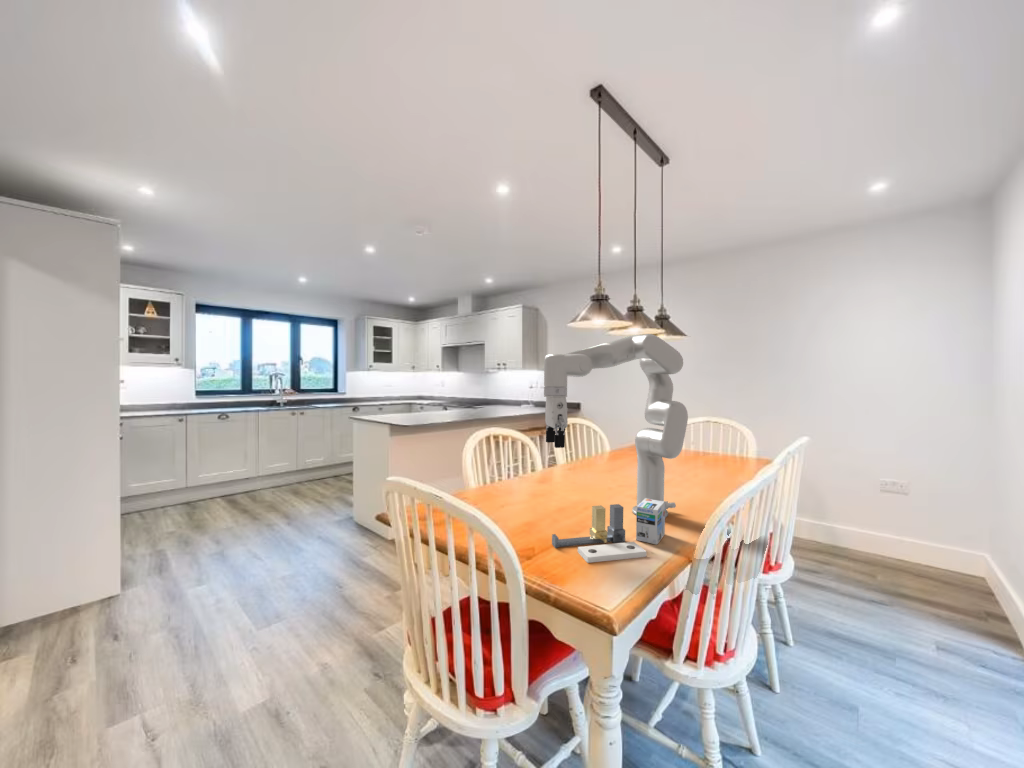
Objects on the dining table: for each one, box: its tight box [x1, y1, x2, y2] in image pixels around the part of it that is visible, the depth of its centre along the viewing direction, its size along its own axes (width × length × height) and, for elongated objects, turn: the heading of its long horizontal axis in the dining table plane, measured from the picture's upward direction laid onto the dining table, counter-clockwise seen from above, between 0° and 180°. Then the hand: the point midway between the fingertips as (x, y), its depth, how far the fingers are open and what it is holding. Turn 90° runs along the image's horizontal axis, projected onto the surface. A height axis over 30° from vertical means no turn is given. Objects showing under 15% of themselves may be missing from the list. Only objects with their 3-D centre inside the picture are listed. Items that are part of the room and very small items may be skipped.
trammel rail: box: [551, 503, 626, 549], centre depth 128 cm, size 22×7×11 cm, turn 103°
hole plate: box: [577, 541, 647, 564], centre depth 122 cm, size 18×7×2 cm, turn 103°
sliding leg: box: [589, 504, 608, 544], centre depth 129 cm, size 4×7×9 cm, turn 13°
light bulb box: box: [635, 498, 666, 546], centre depth 135 cm, size 11×7×11 cm, turn 148°
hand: (554, 444), depth 138 cm, fingers open, 9 cm apart
